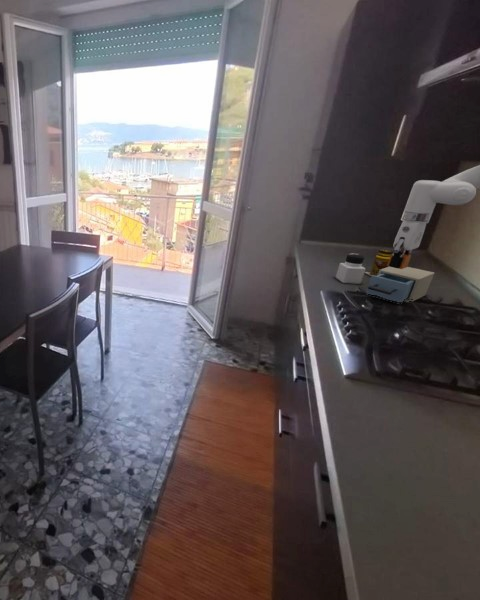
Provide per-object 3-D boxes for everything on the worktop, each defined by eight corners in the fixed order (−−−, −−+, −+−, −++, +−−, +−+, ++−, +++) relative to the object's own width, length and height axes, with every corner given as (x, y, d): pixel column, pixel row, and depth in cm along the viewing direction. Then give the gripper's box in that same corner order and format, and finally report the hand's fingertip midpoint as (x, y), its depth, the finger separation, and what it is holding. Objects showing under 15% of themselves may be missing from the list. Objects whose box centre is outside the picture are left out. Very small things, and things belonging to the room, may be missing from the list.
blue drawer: (392, 307, 129) (400, 287, 126) (357, 297, 138) (363, 278, 135) (415, 296, 138) (423, 278, 135) (381, 287, 147) (387, 269, 144)
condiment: (375, 278, 160) (384, 252, 156) (362, 272, 168) (370, 247, 163) (391, 278, 160) (401, 252, 156) (377, 272, 168) (386, 247, 163)
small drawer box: (409, 302, 135) (419, 279, 131) (371, 292, 145) (379, 269, 141) (425, 295, 142) (434, 272, 138) (387, 285, 152) (395, 264, 148)
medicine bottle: (361, 284, 154) (370, 257, 149) (342, 283, 155) (351, 256, 150) (352, 278, 160) (360, 252, 155) (335, 277, 161) (342, 252, 156)
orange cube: (407, 267, 132) (411, 255, 130) (401, 269, 130) (406, 257, 128) (392, 264, 136) (396, 252, 134) (386, 265, 134) (391, 254, 132)
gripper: (419, 221, 119) (399, 272, 126) (438, 216, 127) (419, 265, 134) (392, 217, 125) (374, 267, 132) (412, 213, 132) (394, 260, 140)
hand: (397, 265), depth 133 cm, fingers closed on orange cube, 4 cm apart
